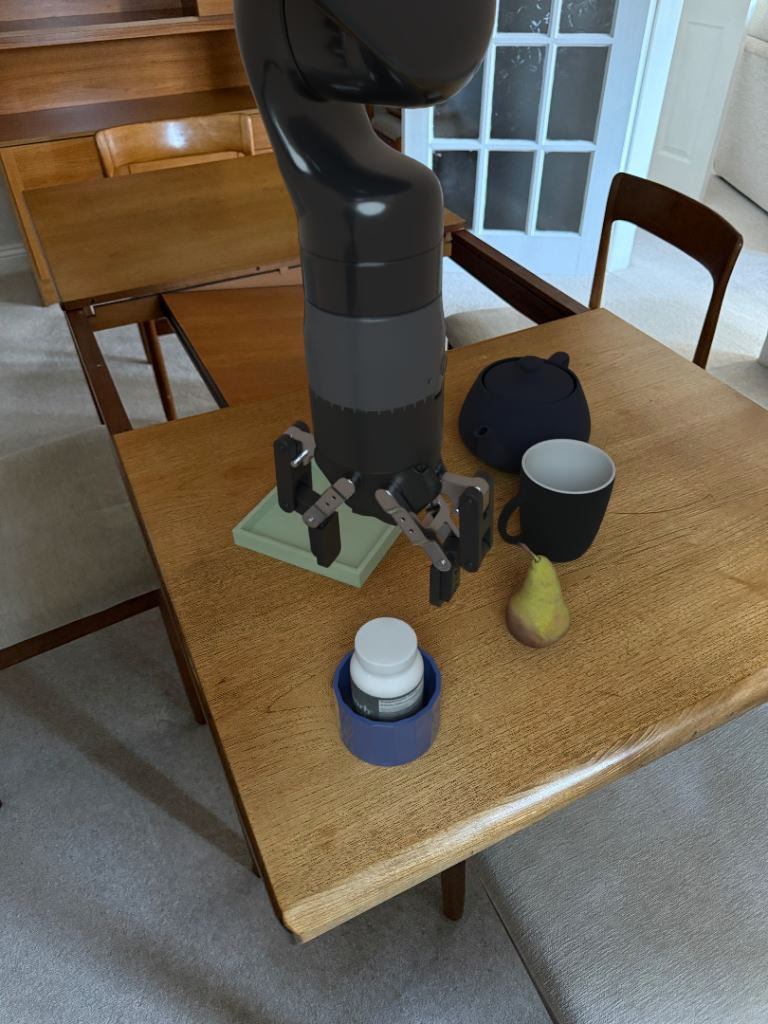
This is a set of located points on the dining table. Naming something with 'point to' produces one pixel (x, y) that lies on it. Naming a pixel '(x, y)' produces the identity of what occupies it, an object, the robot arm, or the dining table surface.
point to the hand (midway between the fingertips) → (383, 578)
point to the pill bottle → (386, 671)
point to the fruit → (538, 606)
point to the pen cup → (388, 738)
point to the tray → (291, 543)
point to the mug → (560, 498)
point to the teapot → (522, 409)
